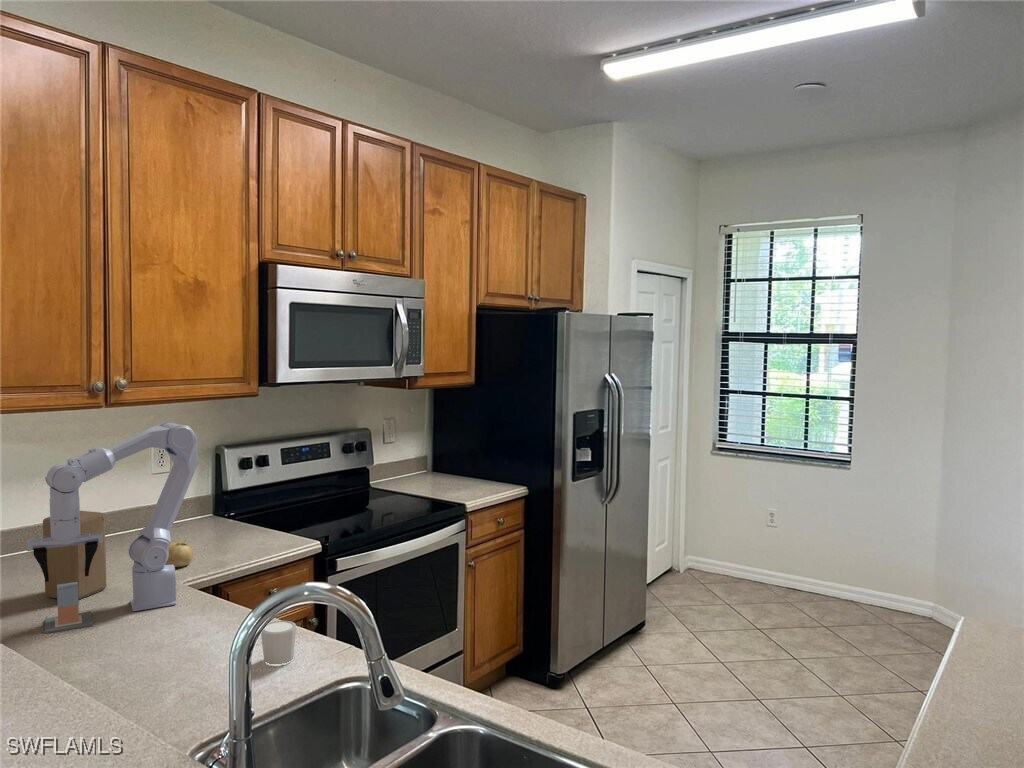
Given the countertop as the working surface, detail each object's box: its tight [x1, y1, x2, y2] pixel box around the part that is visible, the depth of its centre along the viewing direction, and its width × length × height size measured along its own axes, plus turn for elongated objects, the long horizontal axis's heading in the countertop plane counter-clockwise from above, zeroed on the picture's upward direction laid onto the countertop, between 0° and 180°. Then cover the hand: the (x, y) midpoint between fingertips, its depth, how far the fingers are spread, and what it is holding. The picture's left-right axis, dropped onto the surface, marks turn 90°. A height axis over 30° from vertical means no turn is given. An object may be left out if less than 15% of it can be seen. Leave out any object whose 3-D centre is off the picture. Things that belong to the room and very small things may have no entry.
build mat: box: [44, 610, 93, 634], centre depth 170 cm, size 9×9×1 cm
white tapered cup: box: [260, 620, 297, 664], centre depth 151 cm, size 7×7×7 cm
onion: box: [165, 539, 194, 568], centre depth 211 cm, size 8×8×7 cm
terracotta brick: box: [57, 604, 80, 625], centre depth 170 cm, size 4×4×4 cm
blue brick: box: [56, 582, 79, 609], centre depth 169 cm, size 4×4×4 cm
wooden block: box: [42, 510, 108, 601], centre depth 188 cm, size 10×10×20 cm
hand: (67, 577), depth 169 cm, fingers open, 7 cm apart
